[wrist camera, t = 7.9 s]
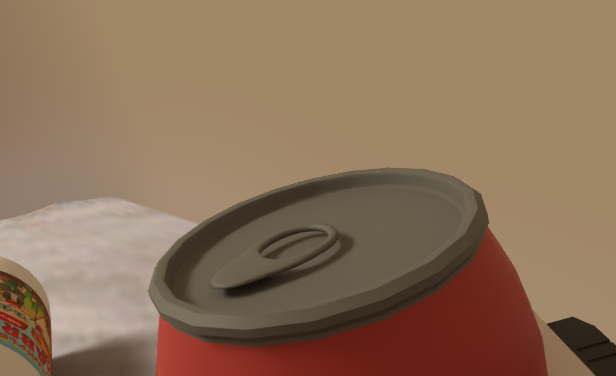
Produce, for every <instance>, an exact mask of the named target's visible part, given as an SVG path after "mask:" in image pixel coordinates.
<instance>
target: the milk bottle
mask: <svg viewBox="0 0 616 376" xmlns="http://www.w3.org/2000/svg"><path fill="white" fill-rule="evenodd" d="M0 376H52V342H51V315H50V306H49V302H48V298H47V295H46V293H45V291H44V289H43V287H42V286H41V284H40V283H39V281H38V280H37V279H36V278H35V277H34V276H33V275H32V274H31V273H30V272H29V271H28V270H27V269H25V268H24V267H22V266H21V265H19V264H17V263H15V262H13V261H11V260H9V259H6V258H3V257H0Z"/></svg>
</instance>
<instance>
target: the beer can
mask: <svg viewBox="0 0 616 376" xmlns="http://www.w3.org/2000/svg"><path fill="white" fill-rule="evenodd" d="M488 224H489V220H488V214H487V211H486V208H485V205H484V202H483V199H482V196H481V194H480V193H479V192H477V191H476V190H474V189H473V188H471V187H470V186H468V185H467V184H465V183H464V182H462V181H461V180H459V179H457V178H455V177H454V176H450V175H446V174H442V173H437V172H434V171H429V170H425V169H406V168H381V169H369V170H358V171H349V172H344V173H339V174H333V175H328V176H323V177H318V178H312V179H309V180H305V181H302V182H298V183H295V184H291V185H288V186H284V187H281V188H278V189H274V190H271V191H269V192H266V193H264V194H261V195H258V196H256V197H253V198H251V199H248V200H246V201H243V202H240V203H238V204H236V205H234V206H232V207H230V208H228V209H226V210H224V211H222V212H220V213H218V214H216V215H215V216H213V217H211V218H209V219H207V220H205V221H203V222H202V223H201V224H199V225H198V226H196V227H195V228H194V229H192V230H191V231H189V232H188V233H187V234H185V235H184V236H182V237H181V238H180V239H178V240H177V241H176V242H175V243H174V244H173V246H172V247H171V248H170V249H169V250H168V251H167V252H166V254H165V255H164V256H163V257H162V258H161V259H160V261H159V262H158V263H157V265H156V267H155V269H154V272H153V275H152V279H151V283H150V286H149V290H148V292H149V295H150V298H151V300H152V302H153V303H154V305H155V307H156V309H157V311H158V312H159V314H160V317H159V330H158V344H157V365H156V376H548V372H547V365H546V358H545V351H544V344H543V338H542V335H541V332H540V329H539V327H538V324H537V321H536V318H535V316H534V313H533V310H532V308H531V305H530V303H529V300H528V298H527V295H526V293H525V290H524V288H523V286H522V283H521V281H520V279H519V276H518V274H517V271H516V269H515V268H514V266H513V264H512V263H511V261H510V260H509V258H508V256H507V255H506V253H505V252H504V250H503V249H502V247H501V246H500V244H499V243H498V241H497V239H496V238H495V236H494V235H493V234H492V232H491V231H490V229H489V228H488Z"/></svg>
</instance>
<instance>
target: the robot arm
mask: <svg viewBox="0 0 616 376" xmlns="http://www.w3.org/2000/svg"><path fill="white" fill-rule="evenodd" d="M533 313H534V316H535V318H536V321H537V324H538V327H539V329H540V332H541V335H542V338H543V344H544V351H545V358H546V365H547V372H548V376H616V345H615V344H614V343H611V342H610V340H609V339H608V338H607V337H606V336H605V335H604V334H603V333H602V332H601V331H600V330H598V329H597V328H596V327H595V326H593V325H591V324H589V323H586V322H584V321H582V320H579V319H577V318H575V317H570V318H566V319H563V320H559V321H555V322H552V323H548V324H546V323H545V322H544V321H543V320H542V319H541V318H540V317H539V316H538V315H537V314H536V313H535V312H534V311H533Z"/></svg>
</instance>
